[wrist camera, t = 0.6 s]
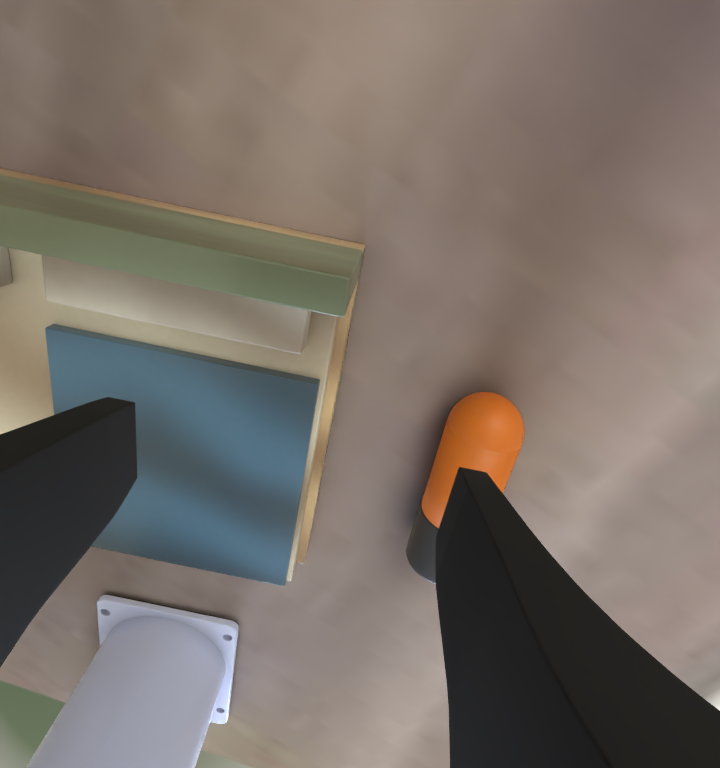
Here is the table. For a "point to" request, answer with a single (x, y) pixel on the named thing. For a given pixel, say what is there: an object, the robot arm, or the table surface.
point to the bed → (181, 361)
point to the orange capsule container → (465, 465)
